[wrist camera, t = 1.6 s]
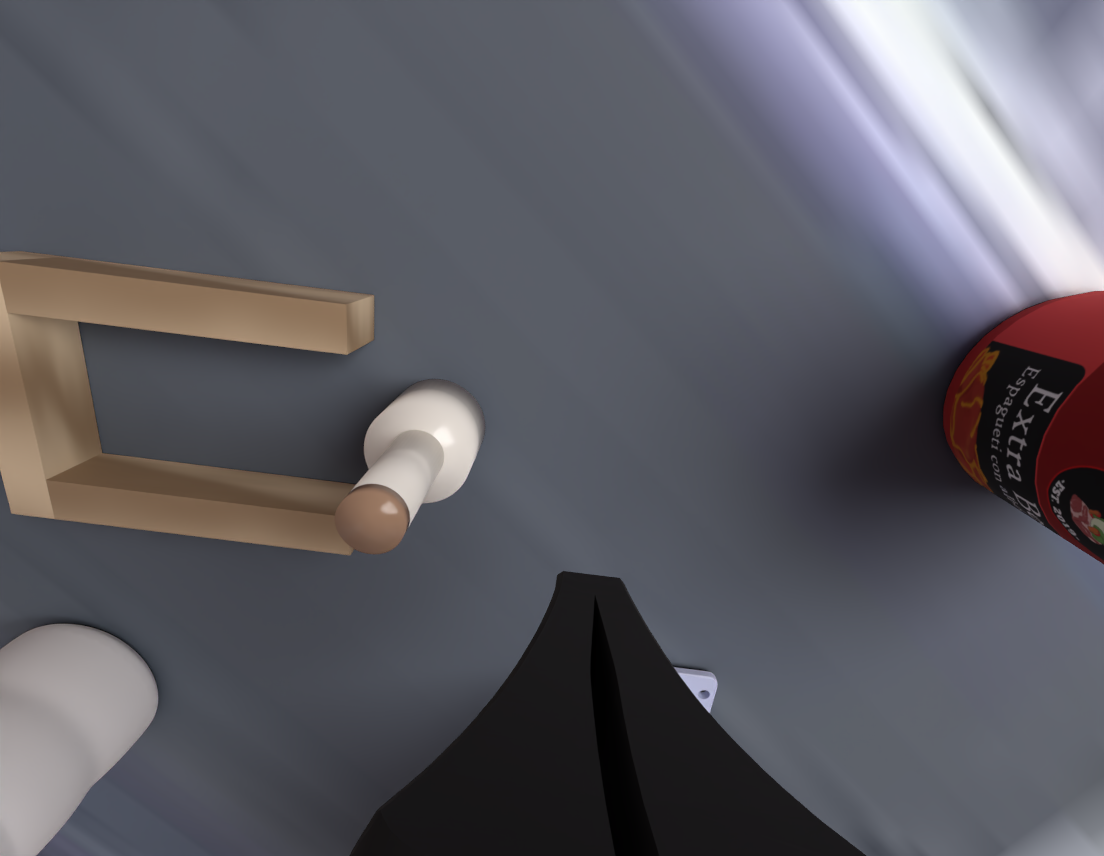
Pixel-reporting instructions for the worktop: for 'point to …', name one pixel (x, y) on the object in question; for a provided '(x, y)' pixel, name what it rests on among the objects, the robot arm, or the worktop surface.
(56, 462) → the cradle
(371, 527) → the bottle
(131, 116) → the worktop surface
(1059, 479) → the canned food
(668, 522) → the worktop surface
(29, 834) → the water bottle
